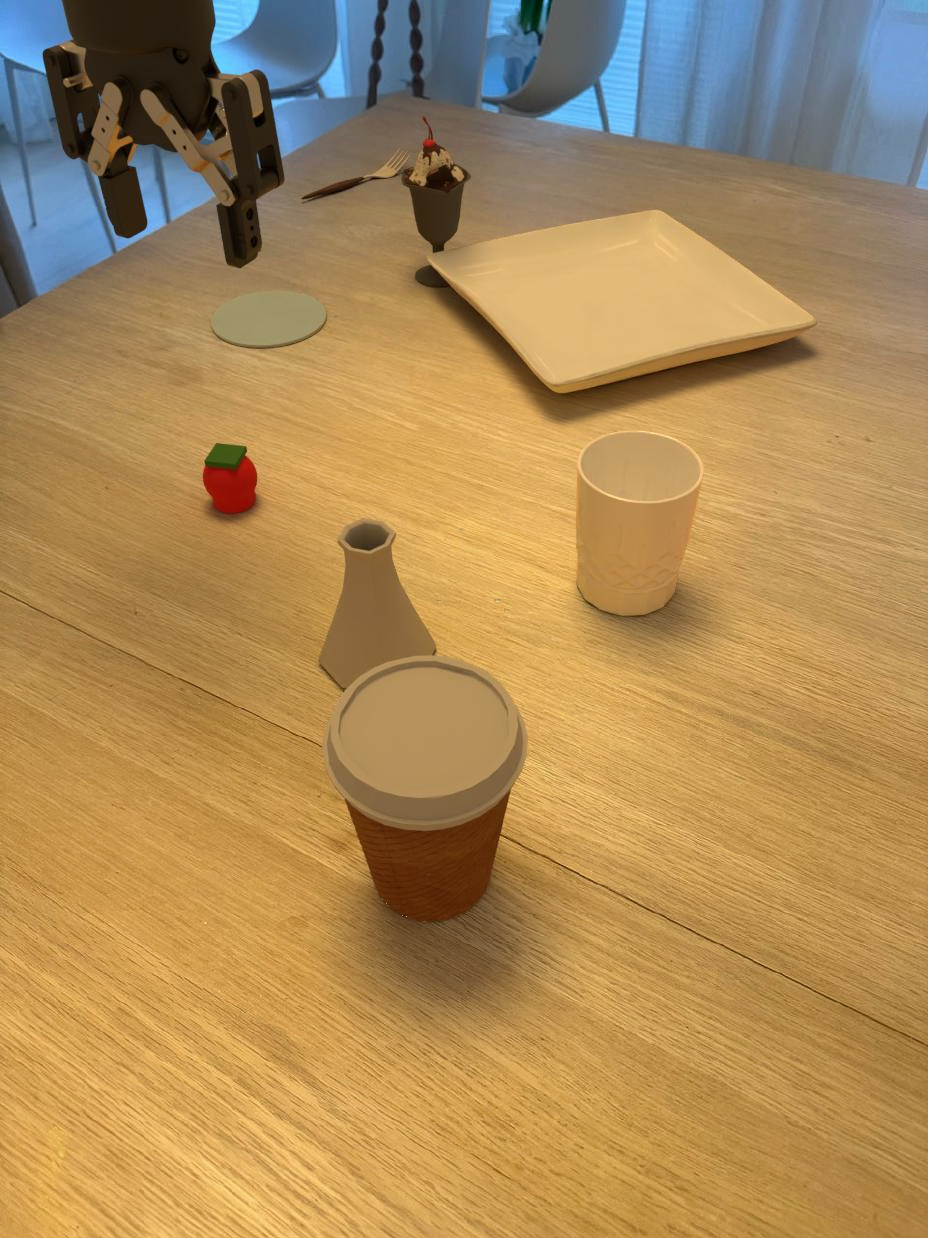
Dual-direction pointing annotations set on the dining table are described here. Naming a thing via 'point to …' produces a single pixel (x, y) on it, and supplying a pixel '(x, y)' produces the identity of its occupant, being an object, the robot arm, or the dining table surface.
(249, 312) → the saucer
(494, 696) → the disposable coffee cup
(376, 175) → the fork
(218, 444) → the strawberry
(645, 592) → the white cup
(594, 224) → the square plate
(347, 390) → the dining table surface
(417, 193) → the sundae
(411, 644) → the flask
